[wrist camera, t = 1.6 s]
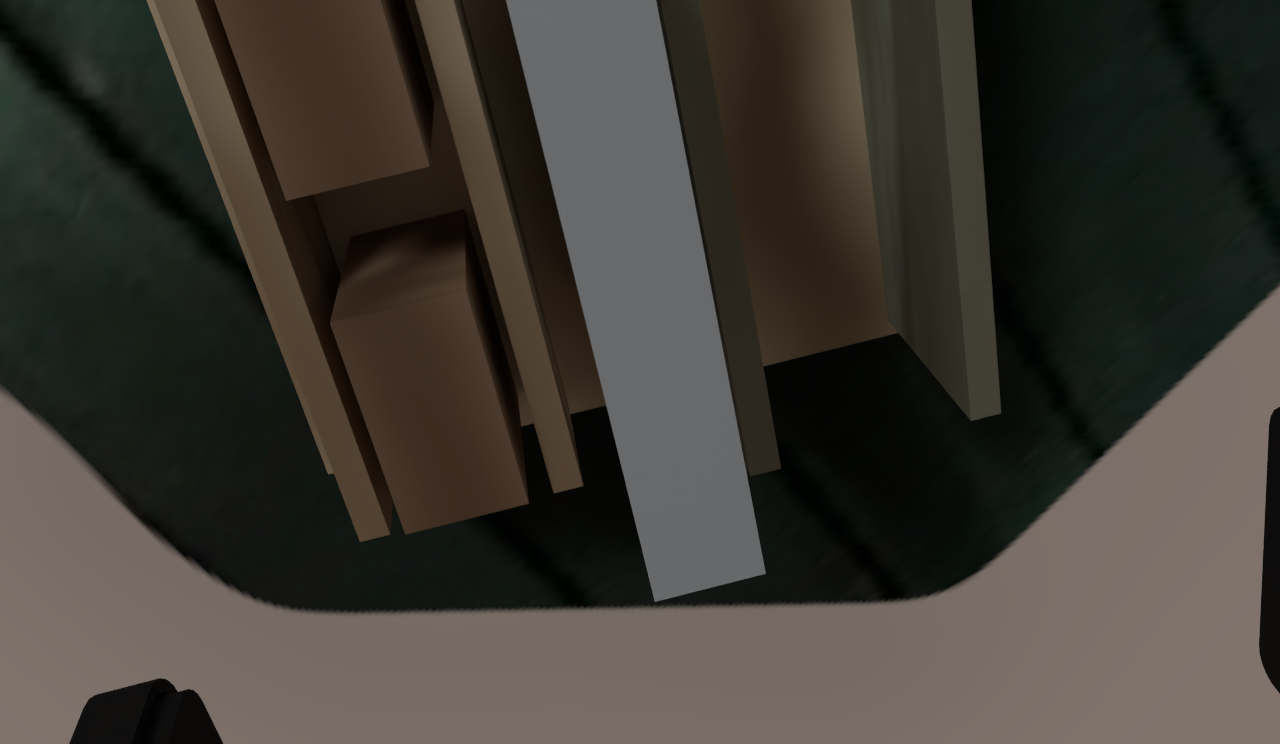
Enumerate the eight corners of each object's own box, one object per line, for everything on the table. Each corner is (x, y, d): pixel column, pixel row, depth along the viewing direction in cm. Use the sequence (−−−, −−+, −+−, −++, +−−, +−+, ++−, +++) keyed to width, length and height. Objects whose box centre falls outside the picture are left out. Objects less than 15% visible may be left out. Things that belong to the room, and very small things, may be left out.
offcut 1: (365, -139, 29) (343, -125, 23) (434, 103, 31) (429, 166, 26) (234, -109, 28) (183, -88, 23) (315, 131, 31) (286, 201, 26)
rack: (857, -300, 30) (983, -329, 23) (919, 304, 38) (1028, 423, 30) (114, -130, 29) (5, -106, 22) (333, 449, 37) (303, 605, 30)
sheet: (546, -181, 29) (625, -161, 15) (644, 269, 34) (766, 574, 21) (466, -163, 29) (474, -127, 15) (577, 285, 34) (654, 601, 21)
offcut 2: (464, 209, 33) (466, 289, 27) (518, 396, 35) (528, 503, 30) (350, 236, 33) (329, 323, 27) (412, 422, 35) (405, 534, 30)
